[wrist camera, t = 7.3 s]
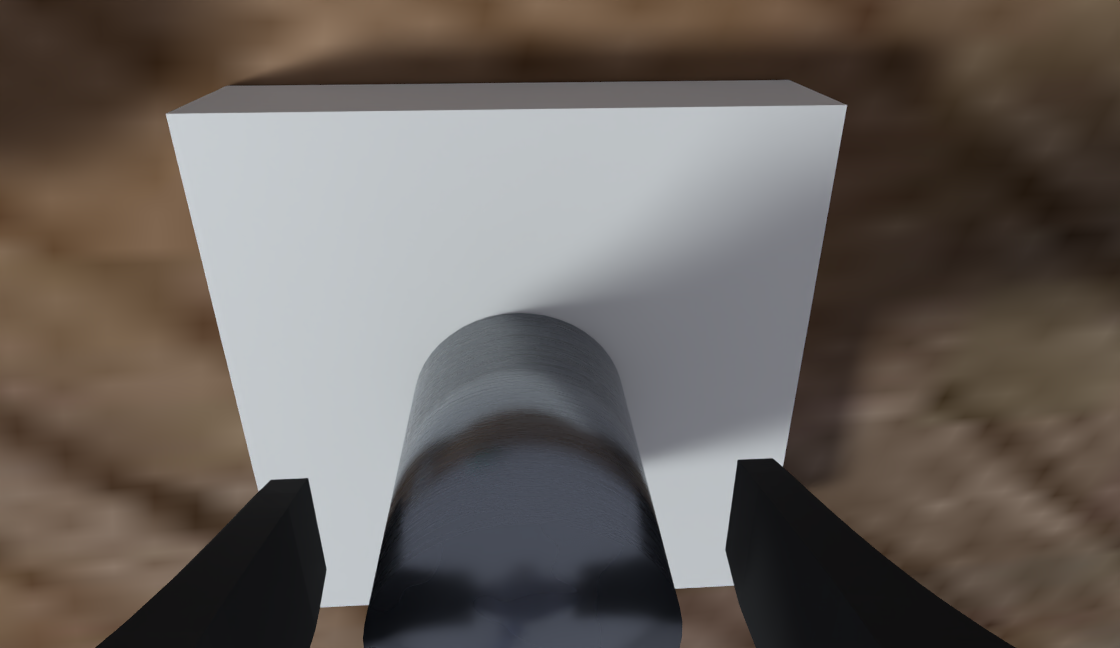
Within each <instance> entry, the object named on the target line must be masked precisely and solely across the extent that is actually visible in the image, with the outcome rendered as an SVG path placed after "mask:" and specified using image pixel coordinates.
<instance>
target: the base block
mask: <svg viewBox="0 0 1120 648" xmlns="http://www.w3.org/2000/svg"><path fill="white" fill-rule="evenodd" d="M846 109H847V105H846V104H843V103H841V102H839V101H837V100H834V99H832V98H830V97H827V96H825V95H823V94H820V93H818V92H816V91H813V90H811V89H809V88H807V87H804V86H802V85H800V84H797V83H795V82H793V81H790V80H736V81H642V82H548V83H455V84H361V85H267V86H225V87H223V88H221V89H219V90H217V91H214V92H212V93H210V94H208V95H206V96H204V97H201V98H199V99H197V100H195V101H193V102H190V103H188V104H186V105H184V106H182V107H180V108H177V109H175V110H173V111H171V112H169V113H166V117H167V121H168V125H169V129H170V133H171V137H172V141H173V145H174V149H175V153H176V157H177V162H178V166H179V170H180V174H181V178H182V182H183V186H184V190H185V194H186V198H187V202H188V206H189V210H190V214H191V219H192V223H193V227H194V231H195V235H196V239H197V243H198V247H199V251H200V255H201V259H202V263H203V267H204V271H205V275H206V280H207V284H208V288H209V292H210V296H211V300H212V304H213V308H214V312H215V316H216V320H217V324H218V328H219V332H220V336H221V341H222V345H223V349H224V353H225V357H226V361H227V365H228V369H229V373H230V377H231V381H232V385H233V389H234V393H235V397H236V402H237V406H238V410H239V414H240V418H241V422H242V426H243V430H244V434H245V438H246V442H247V446H248V450H249V454H250V458H251V463H252V467H253V471H254V475H255V479H256V483H257V487H258V491H260V490H261V489H262V488H263V487H264V486H265V485H266V484H267V483H268V482H269V481H270V480H275V479H298V478H308V480H309V484H310V489H311V494H312V499H313V504H314V509H315V514H316V519H317V524H318V529H319V534H320V539H321V544H322V549H323V554H324V559H325V564H326V569H327V571H326V577H325V582H324V588H323V593H322V599H321V604H320V607H336V606H355V605H369V601H370V597H371V592H372V587H373V583H374V578H375V573H376V569H377V564H378V559H379V555H380V550H381V545H382V541H383V536H384V531H385V527H386V522H387V517H388V513H389V508H390V503H391V499H392V494H393V489H394V485H395V480H396V475H397V471H398V466H399V461H400V457H401V452H402V448H403V443H404V438H405V434H406V429H407V424H408V420H409V415H410V410H411V406H412V401H413V396H414V392H415V387H416V383H417V380H418V377H419V374H420V372H421V370H422V368H423V365H424V364H425V362H426V361H427V359H428V358H429V356H430V355H431V353H432V352H433V351H434V350H435V349H436V348H437V346H438V345H439V344H440V343H441V342H443V341H444V340H445V339H446V338H447V337H449V336H450V335H451V334H453V333H454V332H456V331H457V330H459V329H461V328H462V327H464V326H467V325H469V324H471V323H473V322H475V321H478V320H481V319H484V318H487V317H492V316H496V315H501V314H512V313H531V314H538V315H545V316H549V317H552V318H556V319H560V320H562V321H564V322H567V323H569V324H572V325H574V326H575V327H577V328H579V329H581V330H582V331H584V332H585V333H587V334H588V335H589V336H591V337H592V338H593V339H595V340H596V341H597V342H598V343H599V344H600V345H601V346H602V347H603V348H604V350H605V351H606V352H607V354H608V355H609V356H610V358H611V359H612V361H613V363H614V365H615V367H616V369H617V371H618V374H619V377H620V380H621V384H622V387H623V391H624V395H625V399H626V403H627V407H628V410H629V414H630V418H631V422H632V426H633V430H634V434H635V437H636V441H637V445H638V449H639V453H640V457H641V460H642V464H643V468H644V472H645V476H646V480H647V483H648V487H649V491H650V495H651V499H652V503H653V507H654V510H655V514H656V518H657V522H658V526H659V530H660V533H661V537H662V541H663V545H664V549H665V553H666V556H667V560H668V564H669V568H670V572H671V576H672V579H673V583H674V587H675V589H676V588H695V587H714V586H733V585H734V583H733V579H732V575H731V571H730V567H729V563H728V559H727V555H726V551H725V547H726V540H727V533H728V525H729V518H730V511H731V504H732V497H733V490H734V482H735V475H736V468H737V461H738V460H742V459H765V458H773V459H774V460H775V461H777V462H778V463H779V464H780V465H781V466H782V467H783V463H784V458H785V452H786V446H787V441H788V435H789V430H790V424H791V418H792V413H793V407H794V401H795V396H796V390H797V384H798V379H799V373H800V368H801V362H802V356H803V351H804V345H805V339H806V334H807V328H808V323H809V317H810V311H811V306H812V300H813V294H814V289H815V283H816V277H817V272H818V266H819V261H820V255H821V249H822V244H823V238H824V232H825V227H826V221H827V216H828V210H829V204H830V199H831V193H832V187H833V182H834V176H835V170H836V165H837V159H838V154H839V148H840V142H841V137H842V131H843V125H844V120H845V114H846Z"/></svg>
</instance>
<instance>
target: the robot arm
mask: <svg viewBox="0 0 1120 648" xmlns="http://www.w3.org/2000/svg"><path fill="white" fill-rule="evenodd" d="M725 551H726V555H727V559H728V563H729V567H730V571H731V575H732V579H733V583H734V587H735V590H736V594H737V598H738V601H739V605H740V608H741V610H742V613H743V616H744V618H745V621H746V623H747V626H748V629H749V631H750V634H751V636H752V639H753V641H754V644H755V646H756V648H1015V647H1014V646H1012V645H1010V644H1008V643H1007V642H1005V641H1004V640H1002V639H1000V638H999V637H997V636H996V635H994V634H993V633H991V632H989V631H988V630H986V629H985V628H983V627H981V626H980V625H979V624H977V623H976V622H974V621H973V620H971V619H970V618H968V617H967V616H965V615H964V614H962V613H961V612H959V611H958V610H956V609H955V608H953V607H952V606H950V605H949V604H947V603H946V602H944V601H943V600H942V599H940V598H939V597H937V596H936V595H935V594H933V593H932V592H930V591H929V590H928V589H926V588H925V587H924V586H922V585H921V584H919V583H918V582H917V581H916V580H914V579H913V578H912V577H910V576H909V575H908V574H907V573H905V572H904V571H903V570H901V569H900V568H899V567H897V566H896V565H895V564H894V563H892V562H891V561H890V560H888V559H887V558H886V557H885V556H883V555H882V554H881V553H880V552H879V551H877V550H876V549H875V548H874V547H872V546H871V545H870V544H869V543H868V542H866V541H865V540H864V539H863V538H862V537H860V536H859V535H858V534H857V533H856V532H855V531H853V530H852V529H851V528H850V527H849V526H848V525H846V524H845V523H844V522H843V521H842V520H841V519H840V518H838V517H837V516H836V515H835V514H834V513H833V512H832V511H831V510H829V509H828V508H827V507H826V506H825V505H824V504H823V503H822V502H821V501H819V500H818V499H817V498H816V497H815V496H814V495H813V494H812V493H811V492H810V491H808V490H807V489H806V488H805V487H804V486H803V485H802V484H801V483H800V482H799V481H798V480H796V479H795V478H794V477H793V476H792V475H791V474H790V473H789V472H788V471H787V470H786V469H784V468H783V467H782V466H781V465H780V464H779V463H778V462H777V461H775V460H774V459H773V458H765V459H742V460H738V461H737V468H736V475H735V482H734V490H733V497H732V504H731V511H730V518H729V525H728V533H727V540H726V547H725ZM326 571H327V569H326V564H325V559H324V554H323V549H322V544H321V539H320V534H319V529H318V524H317V519H316V514H315V509H314V504H313V499H312V494H311V489H310V484H309V480H308V478H298V479H275V480H270V481H269V482H268V483H267V484H266V485H265V486H264V487H263V488H262V489H261V490H260V491H259V492H258V493H257V494H256V495H255V496H254V497H253V498H252V499H251V500H250V501H249V502H248V503H247V504H246V505H245V506H244V507H243V508H242V509H241V510H240V511H239V512H238V514H237V515H236V516H235V517H234V518H233V519H232V520H231V521H230V522H229V523H228V524H227V525H226V526H225V527H224V528H223V529H222V530H221V531H220V532H219V533H218V534H217V535H216V536H215V537H214V538H213V539H212V540H211V541H210V542H209V543H208V544H207V545H206V546H205V547H204V548H203V549H202V550H201V551H200V552H199V553H198V554H197V555H196V556H195V557H194V558H193V559H192V560H191V561H190V562H189V563H188V564H187V565H186V566H185V567H184V568H183V569H182V570H181V571H180V572H179V573H178V574H177V575H176V576H175V577H174V578H173V579H172V580H171V581H170V582H169V583H168V584H167V585H166V586H165V587H163V588H162V589H161V590H160V591H159V592H158V593H157V594H156V595H155V596H154V597H153V598H151V599H150V600H149V601H148V602H147V603H146V604H145V605H144V606H143V607H142V608H141V609H140V610H138V611H137V612H136V613H135V614H134V615H133V616H132V617H131V618H130V619H129V620H127V621H126V622H125V623H124V624H123V625H122V626H120V627H119V628H118V629H117V630H116V631H115V632H113V633H112V634H111V635H110V636H109V637H107V638H106V639H105V640H104V641H103V642H101V643H100V644H99V645H98V646H97V647H95V648H310V645H311V642H312V639H313V635H314V632H315V629H316V624H317V619H318V614H319V609H320V604H321V599H322V593H323V588H324V582H325V577H326Z"/></svg>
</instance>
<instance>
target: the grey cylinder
mask: <svg viewBox="0 0 1120 648" xmlns="http://www.w3.org/2000/svg"><path fill="white" fill-rule="evenodd" d="M681 638H682V618H681V612H680V606H679V603H678V599H677V595H676V591H675V587H674V583H673V579H672V576H671V572H670V568H669V564H668V560H667V556H666V553H665V549H664V545H663V541H662V537H661V533H660V530H659V526H658V522H657V518H656V514H655V510H654V507H653V503H652V499H651V495H650V491H649V487H648V483H647V480H646V476H645V472H644V468H643V464H642V460H641V457H640V453H639V449H638V445H637V441H636V437H635V434H634V430H633V426H632V422H631V418H630V414H629V410H628V407H627V403H626V399H625V395H624V391H623V387H622V384H621V380H620V377H619V374H618V371H617V369H616V367H615V365H614V363H613V361H612V359H611V358H610V356H609V355H608V354H607V352H606V351H605V350H604V348H603V347H602V346H601V345H600V344H599V343H598V342H597V341H596V340H595V339H593V338H592V337H591V336H589V335H588V334H587V333H585V332H584V331H582V330H581V329H579V328H577V327H575V326H574V325H572V324H569V323H567V322H564V321H562V320H560V319H556V318H552V317H549V316H545V315H538V314H531V313H512V314H501V315H496V316H492V317H487V318H484V319H481V320H478V321H475V322H473V323H471V324H469V325H467V326H464V327H462V328H461V329H459V330H457V331H456V332H454V333H453V334H451V335H450V336H449V337H447V338H446V339H445V340H444V341H443V342H441V343H440V344H439V345H438V346H437V348H436V349H435V350H434V351H433V352H432V353H431V355H430V356H429V358H428V359H427V361H426V362H425V364H424V365H423V368H422V370H421V372H420V374H419V377H418V380H417V383H416V387H415V392H414V396H413V401H412V406H411V410H410V415H409V420H408V424H407V429H406V434H405V438H404V443H403V448H402V452H401V457H400V461H399V466H398V471H397V475H396V480H395V485H394V489H393V494H392V499H391V503H390V508H389V513H388V517H387V522H386V527H385V531H384V536H383V541H382V545H381V550H380V555H379V559H378V564H377V569H376V573H375V578H374V583H373V587H372V592H371V597H370V601H369V606H368V611H367V615H366V620H365V625H364V635H363V643H364V648H679V647H680V642H681Z"/></svg>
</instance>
